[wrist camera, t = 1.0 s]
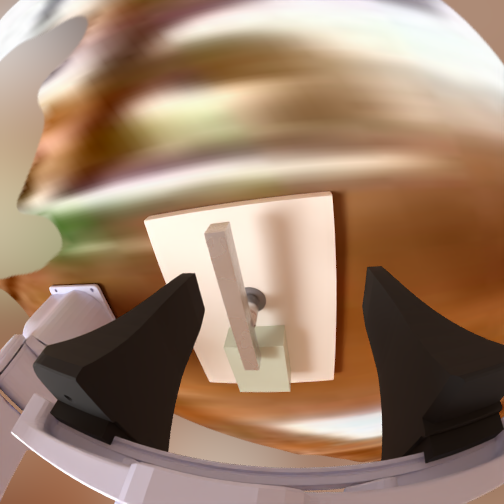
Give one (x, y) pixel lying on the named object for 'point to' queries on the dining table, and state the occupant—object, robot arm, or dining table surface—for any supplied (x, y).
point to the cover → (262, 361)
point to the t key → (234, 293)
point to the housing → (262, 275)
